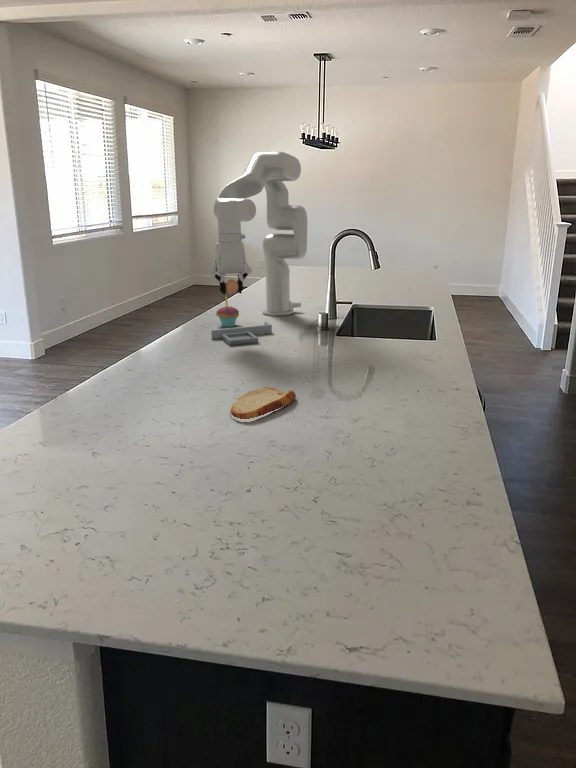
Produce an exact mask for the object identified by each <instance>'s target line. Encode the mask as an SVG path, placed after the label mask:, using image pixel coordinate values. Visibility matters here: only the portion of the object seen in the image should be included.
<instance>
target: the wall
mask: <svg viewBox="0 0 576 768" xmlns="http://www.w3.org/2000/svg"><path fill="white" fill-rule="evenodd" d="M263 323H264V324H261V325H251V326H239V327H228V328H219V329H218V328H217V329H211V330H210V335H211V336H210V338H211V340H214V339H215V340H217V339H222V335H221V334H227V333H238V332H248V331H249V332H251V333H252V334H257V335H264V334H263V333H267V334H272V333H273V326H272V323H269V322H268V321H263Z"/></svg>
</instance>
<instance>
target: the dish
mask: <svg viewBox="0 0 576 768" xmlns="http://www.w3.org/2000/svg"><path fill="white" fill-rule="evenodd" d="M221 335H222V338H221V340H222V341H224V343H225V344H227V345H228V346H229V347H230V346H231V347H232V346H241V345H243V346H244V345H252V344H259V337H258V336H257V335H254V334H252V333H251V332H249V331H248V332H238V333H227V334H221Z"/></svg>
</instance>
